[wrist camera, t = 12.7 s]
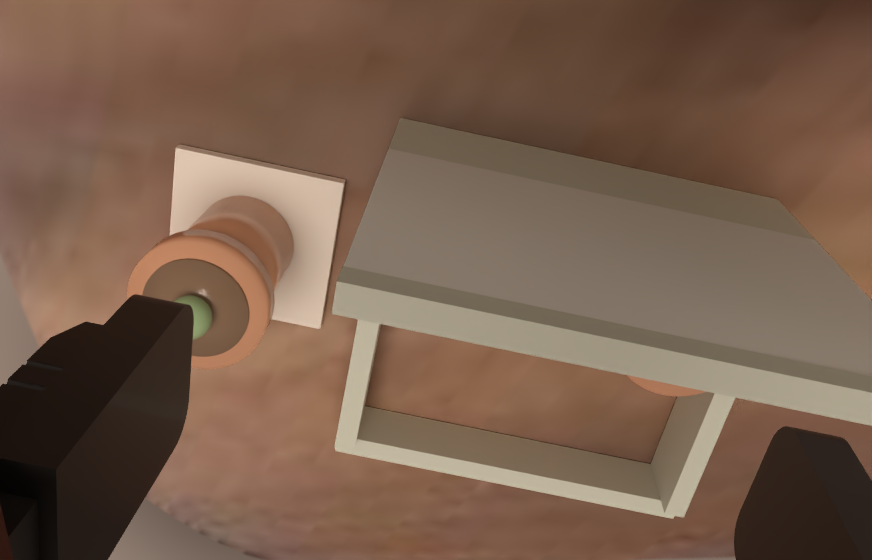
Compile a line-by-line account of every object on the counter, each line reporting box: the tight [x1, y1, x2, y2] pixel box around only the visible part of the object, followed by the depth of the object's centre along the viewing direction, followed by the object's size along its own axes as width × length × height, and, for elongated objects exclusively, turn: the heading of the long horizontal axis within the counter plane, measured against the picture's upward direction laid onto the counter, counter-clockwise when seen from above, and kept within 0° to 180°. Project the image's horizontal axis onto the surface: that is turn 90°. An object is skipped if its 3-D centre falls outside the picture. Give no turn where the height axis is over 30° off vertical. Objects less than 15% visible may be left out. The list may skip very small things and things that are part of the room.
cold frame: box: [332, 118, 872, 519], centre depth 34 cm, size 18×17×18 cm
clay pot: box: [127, 196, 294, 369], centre depth 37 cm, size 6×6×9 cm
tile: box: [170, 144, 346, 329], centre depth 41 cm, size 8×8×1 cm
